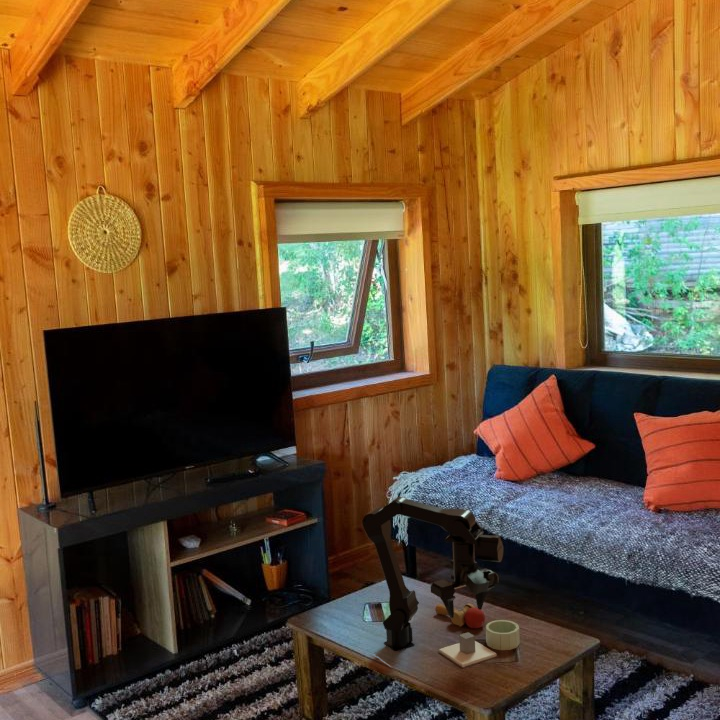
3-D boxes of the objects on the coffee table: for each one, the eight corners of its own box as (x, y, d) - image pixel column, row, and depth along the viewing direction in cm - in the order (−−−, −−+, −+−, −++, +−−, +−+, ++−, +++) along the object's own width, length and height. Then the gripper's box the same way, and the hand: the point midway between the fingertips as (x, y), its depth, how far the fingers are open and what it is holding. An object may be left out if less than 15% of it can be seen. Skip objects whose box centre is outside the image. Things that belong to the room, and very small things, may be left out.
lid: (462, 667, 238) (462, 648, 238) (439, 651, 248) (438, 633, 247) (496, 656, 243) (495, 637, 243) (472, 641, 253) (471, 623, 252)
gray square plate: (462, 669, 238) (462, 668, 238) (437, 653, 248) (436, 651, 248) (499, 657, 243) (498, 656, 243) (472, 641, 254) (472, 640, 254)
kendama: (428, 622, 271) (472, 631, 258) (428, 600, 272) (472, 609, 258) (447, 619, 276) (491, 628, 262) (447, 598, 277) (490, 606, 263)
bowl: (500, 654, 245) (499, 636, 245) (480, 642, 253) (479, 625, 252) (526, 645, 250) (525, 628, 249) (505, 634, 257) (505, 617, 257)
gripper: (452, 574, 231) (454, 632, 233) (510, 558, 240) (512, 615, 242) (428, 562, 240) (430, 617, 242) (484, 547, 249) (486, 601, 251)
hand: (465, 613), depth 244 cm, fingers open, 9 cm apart
